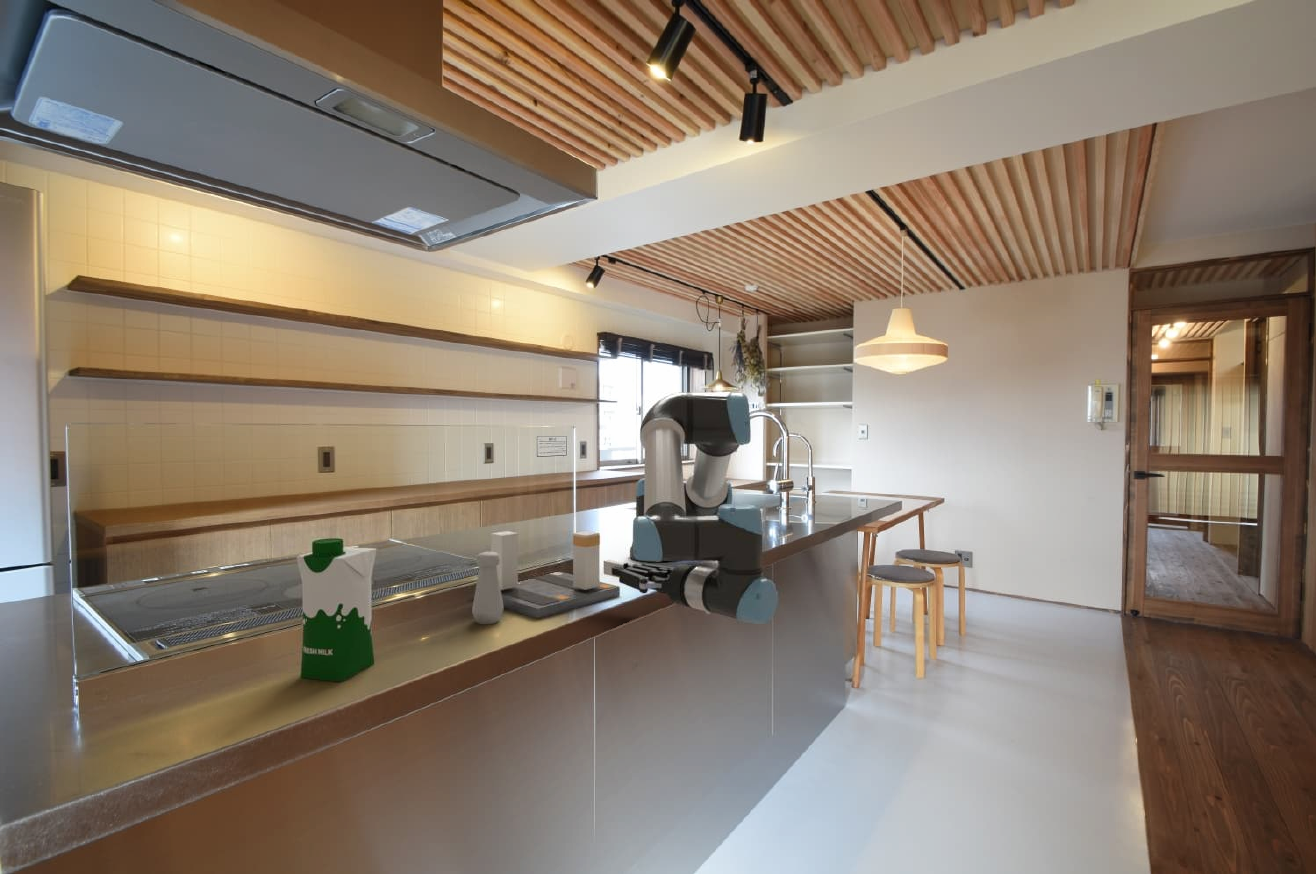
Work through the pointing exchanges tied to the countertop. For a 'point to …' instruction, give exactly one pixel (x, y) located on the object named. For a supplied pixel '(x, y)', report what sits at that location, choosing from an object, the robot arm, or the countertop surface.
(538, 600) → the panel
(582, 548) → the handle
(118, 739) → the countertop surface
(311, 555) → the milk carton
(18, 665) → the countertop surface
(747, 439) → the robot arm
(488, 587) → the salt shaker
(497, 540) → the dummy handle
